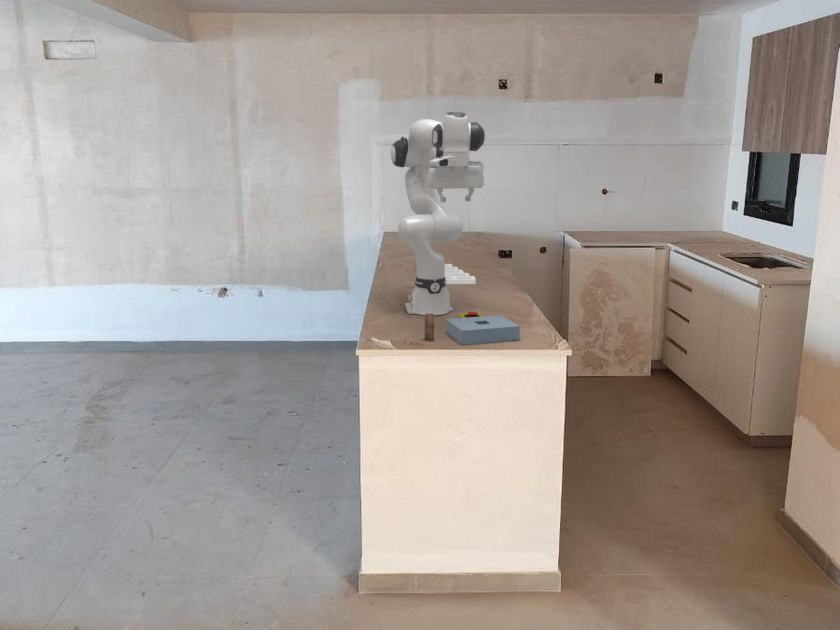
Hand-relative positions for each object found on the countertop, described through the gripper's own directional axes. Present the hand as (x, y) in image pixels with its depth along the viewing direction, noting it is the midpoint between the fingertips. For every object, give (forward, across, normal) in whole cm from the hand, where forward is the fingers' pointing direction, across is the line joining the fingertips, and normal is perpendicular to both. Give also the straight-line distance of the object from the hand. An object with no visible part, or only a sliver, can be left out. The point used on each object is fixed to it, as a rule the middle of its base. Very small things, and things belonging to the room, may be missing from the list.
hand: (455, 201), depth 255 cm
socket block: (+46, -6, +10) cm, 48 cm away
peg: (+46, +13, +8) cm, 49 cm away
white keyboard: (+47, -44, -102) cm, 121 cm away
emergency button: (+47, -11, -8) cm, 49 cm away
